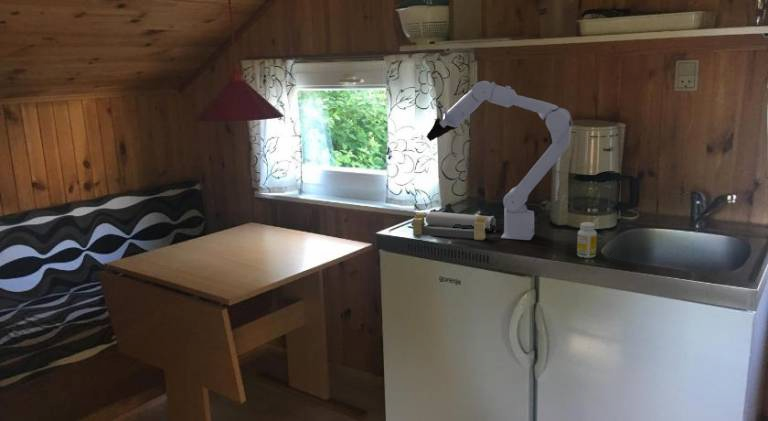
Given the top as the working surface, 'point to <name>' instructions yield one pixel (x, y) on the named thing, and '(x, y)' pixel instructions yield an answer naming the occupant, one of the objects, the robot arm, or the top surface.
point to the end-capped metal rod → (478, 226)
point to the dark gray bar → (448, 232)
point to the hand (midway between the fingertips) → (432, 136)
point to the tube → (455, 219)
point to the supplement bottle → (587, 240)
